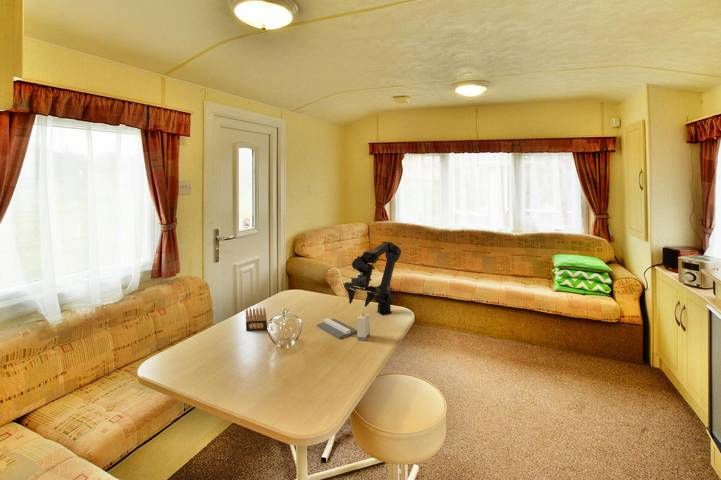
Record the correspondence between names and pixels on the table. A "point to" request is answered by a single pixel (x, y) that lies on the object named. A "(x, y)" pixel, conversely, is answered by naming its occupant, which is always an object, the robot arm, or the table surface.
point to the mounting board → (336, 328)
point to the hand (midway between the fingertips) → (357, 305)
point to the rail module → (363, 326)
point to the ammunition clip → (256, 320)
